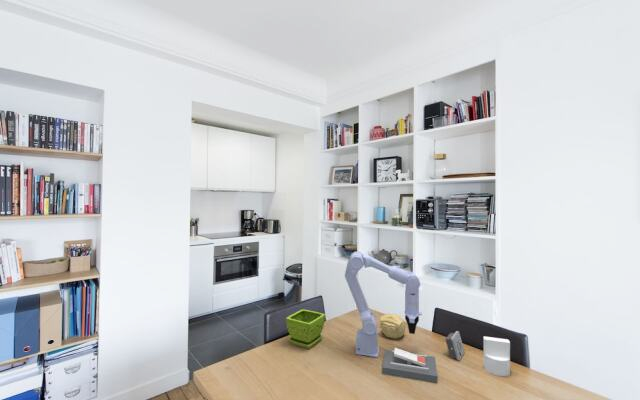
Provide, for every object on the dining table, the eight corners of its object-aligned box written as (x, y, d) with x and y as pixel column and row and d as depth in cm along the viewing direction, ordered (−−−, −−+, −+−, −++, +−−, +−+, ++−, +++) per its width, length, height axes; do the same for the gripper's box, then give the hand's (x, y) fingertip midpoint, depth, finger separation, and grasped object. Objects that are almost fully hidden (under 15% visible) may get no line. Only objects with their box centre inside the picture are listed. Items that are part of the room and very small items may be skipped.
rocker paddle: (393, 355, 118) (394, 353, 118) (394, 349, 123) (394, 346, 123) (424, 367, 115) (425, 364, 115) (424, 360, 120) (424, 357, 119)
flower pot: (326, 340, 143) (326, 313, 142) (309, 353, 131) (309, 324, 131) (302, 333, 150) (302, 308, 150) (284, 344, 138) (284, 317, 138)
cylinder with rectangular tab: (506, 365, 120) (506, 336, 120) (512, 378, 112) (512, 346, 112) (481, 361, 123) (481, 333, 123) (485, 373, 115) (485, 343, 115)
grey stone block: (459, 362, 123) (457, 339, 124) (446, 359, 126) (444, 336, 127) (465, 352, 131) (462, 331, 131) (452, 350, 134) (450, 329, 134)
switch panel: (382, 373, 115) (382, 361, 115) (385, 355, 128) (385, 344, 128) (437, 383, 109) (437, 370, 109) (434, 362, 123) (434, 351, 123)
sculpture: (377, 337, 145) (377, 315, 145) (386, 328, 155) (386, 307, 155) (400, 343, 139) (400, 320, 139) (408, 334, 149) (408, 312, 149)
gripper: (422, 308, 121) (422, 342, 121) (421, 297, 135) (421, 327, 135) (404, 307, 123) (404, 339, 123) (405, 295, 137) (405, 325, 137)
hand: (411, 333), depth 129 cm, fingers closed
